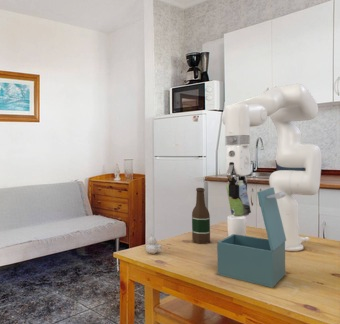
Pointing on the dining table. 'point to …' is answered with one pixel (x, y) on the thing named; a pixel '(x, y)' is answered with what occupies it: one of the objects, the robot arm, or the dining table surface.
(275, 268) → the teal rectangular box
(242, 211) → the beverage can
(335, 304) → the dining table surface
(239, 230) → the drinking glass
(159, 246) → the white figurine
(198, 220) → the beer bottle
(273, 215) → the teal box lid
